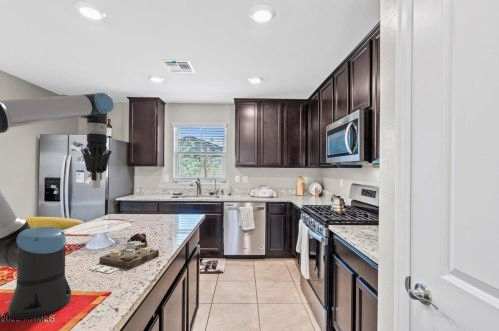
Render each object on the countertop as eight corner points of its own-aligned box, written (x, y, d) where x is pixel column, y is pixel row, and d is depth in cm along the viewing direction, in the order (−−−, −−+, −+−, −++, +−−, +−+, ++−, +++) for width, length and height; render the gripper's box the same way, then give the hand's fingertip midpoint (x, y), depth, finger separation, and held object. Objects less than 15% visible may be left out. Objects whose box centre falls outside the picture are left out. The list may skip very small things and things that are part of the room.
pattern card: (109, 273, 102) (109, 272, 102) (88, 269, 107) (88, 268, 107) (119, 269, 107) (119, 268, 107) (99, 265, 112) (99, 264, 112)
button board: (128, 268, 108) (128, 262, 108) (99, 262, 115) (99, 257, 115) (158, 255, 124) (158, 250, 124) (131, 250, 131) (131, 246, 131)
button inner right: (129, 260, 111) (129, 252, 111) (121, 258, 112) (122, 250, 112) (137, 257, 115) (137, 249, 115) (130, 255, 116) (130, 248, 116)
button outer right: (144, 258, 119) (144, 250, 119) (137, 257, 121) (137, 249, 121) (151, 255, 123) (151, 247, 123) (144, 254, 125) (144, 246, 125)
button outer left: (130, 251, 122) (130, 244, 123) (124, 250, 124) (124, 243, 124) (137, 248, 127) (138, 241, 127) (131, 247, 128) (131, 240, 128)
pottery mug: (145, 250, 134) (136, 237, 133) (130, 257, 135) (121, 245, 134) (153, 238, 146) (146, 226, 144) (140, 245, 147) (132, 233, 145)
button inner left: (114, 262, 114) (114, 254, 114) (107, 260, 116) (107, 252, 116) (122, 258, 118) (122, 251, 118) (115, 257, 120) (116, 250, 120)
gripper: (88, 131, 103) (87, 189, 103) (116, 135, 115) (115, 187, 115) (76, 132, 106) (75, 188, 106) (104, 136, 118) (104, 186, 118)
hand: (96, 187), depth 110 cm, fingers closed
